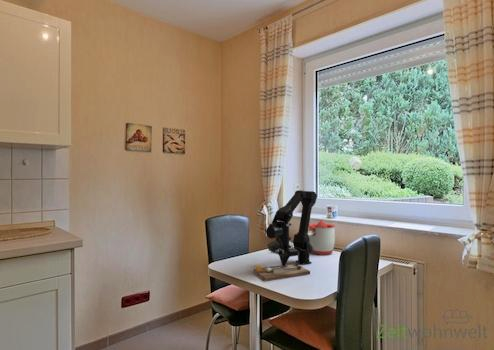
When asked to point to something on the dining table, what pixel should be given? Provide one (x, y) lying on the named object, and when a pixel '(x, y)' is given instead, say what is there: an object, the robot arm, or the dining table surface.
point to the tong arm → (278, 268)
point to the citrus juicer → (322, 237)
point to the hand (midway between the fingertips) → (283, 266)
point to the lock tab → (259, 268)
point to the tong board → (281, 272)
